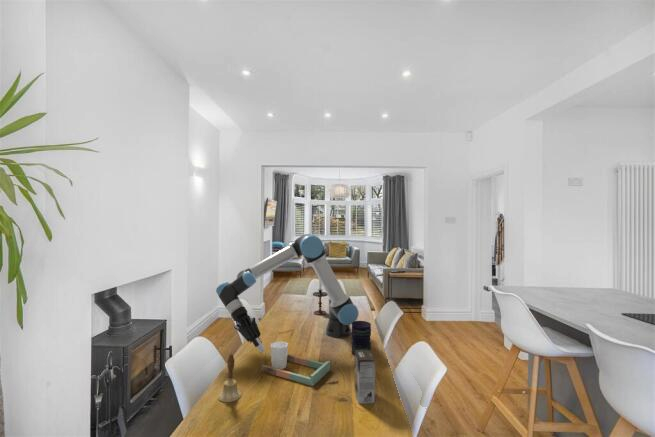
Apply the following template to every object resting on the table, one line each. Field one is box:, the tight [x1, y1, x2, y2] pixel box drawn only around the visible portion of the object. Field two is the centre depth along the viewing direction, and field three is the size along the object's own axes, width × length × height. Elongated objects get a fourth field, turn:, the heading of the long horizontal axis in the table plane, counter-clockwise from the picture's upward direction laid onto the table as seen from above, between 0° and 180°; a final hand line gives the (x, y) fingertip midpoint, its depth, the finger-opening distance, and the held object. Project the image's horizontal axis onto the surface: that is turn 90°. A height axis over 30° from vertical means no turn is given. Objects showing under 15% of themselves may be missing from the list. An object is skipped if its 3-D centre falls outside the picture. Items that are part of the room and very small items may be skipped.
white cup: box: [270, 340, 289, 370], centre depth 143 cm, size 8×8×10 cm
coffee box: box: [354, 350, 376, 405], centre depth 119 cm, size 9×6×16 cm
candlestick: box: [312, 279, 328, 316], centre depth 226 cm, size 11×11×35 cm
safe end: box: [289, 358, 331, 387], centre depth 135 cm, size 11×15×4 cm
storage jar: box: [351, 320, 372, 357], centre depth 158 cm, size 10×10×15 cm
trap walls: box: [275, 355, 308, 380], centre depth 139 cm, size 7×15×2 cm, turn 153°
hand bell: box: [218, 353, 242, 403], centre depth 118 cm, size 8×8×16 cm
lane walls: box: [261, 353, 296, 376], centre depth 143 cm, size 8×15×2 cm, turn 153°
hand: (262, 351), depth 147 cm, fingers closed
